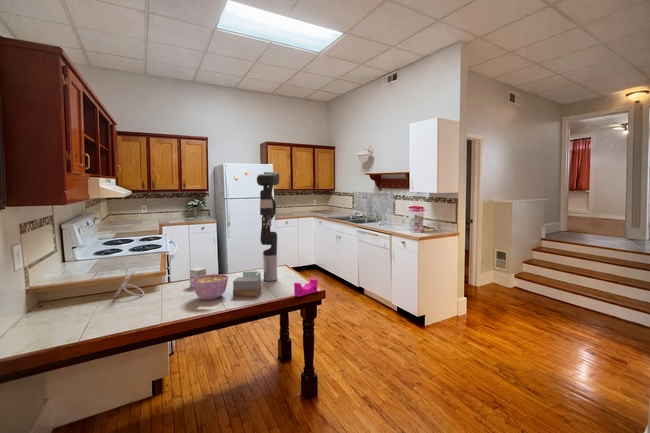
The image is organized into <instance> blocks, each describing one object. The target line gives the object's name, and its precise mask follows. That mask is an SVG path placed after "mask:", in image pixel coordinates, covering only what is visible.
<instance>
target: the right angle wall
mask: <svg viewBox="0 0 650 433" xmlns="http://www.w3.org/2000/svg"><path fill="white" fill-rule="evenodd" d="M261 276H262V275H261V271H260V270H250V271H249V270H247V271H246V270H245V271H242V277H261Z"/></svg>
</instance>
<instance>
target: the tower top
mask: <svg viewBox="0 0 650 433" xmlns="http://www.w3.org/2000/svg"><path fill="white" fill-rule="evenodd" d="M232 283H233V284H232V286H233V287H232V291H233V290H255V289H258V288H259V287H260V285H261V286H262V279H261V277H243V276H237V277H236V278H235V279H234V280H233V282H232Z"/></svg>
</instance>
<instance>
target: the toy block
mask: <svg viewBox="0 0 650 433" xmlns="http://www.w3.org/2000/svg"><path fill="white" fill-rule="evenodd" d="M293 284H294V285H293V287H294V291H293V292H294V296H295V297H302V296H305V295H310V294H313V293H317V292H318V279H316V278H314V277H313V278H310V279H309V281H308V282H307V283H305V284H304V285H303V286H302V283H300V282H298V281H297V282H296V281H295V282H294V283H293Z"/></svg>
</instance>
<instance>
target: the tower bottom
mask: <svg viewBox="0 0 650 433" xmlns="http://www.w3.org/2000/svg"><path fill="white" fill-rule="evenodd" d="M261 293H262V284H261V285H260V287H259V288H258V289H255V290H233V289H232V298H233V299H234V298H235V299H237V298H241V299H242V298H244V299H245V298H246V299H247V298H251V299H253V298H254V299H256V298H257V299H258V297H259V296H260V295H261Z"/></svg>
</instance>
